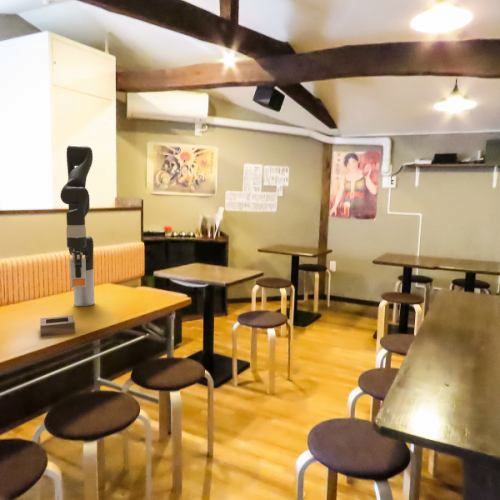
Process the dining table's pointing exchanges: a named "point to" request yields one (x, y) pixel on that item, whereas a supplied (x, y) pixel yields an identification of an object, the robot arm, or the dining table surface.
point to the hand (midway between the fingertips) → (77, 276)
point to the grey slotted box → (57, 325)
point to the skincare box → (73, 280)
